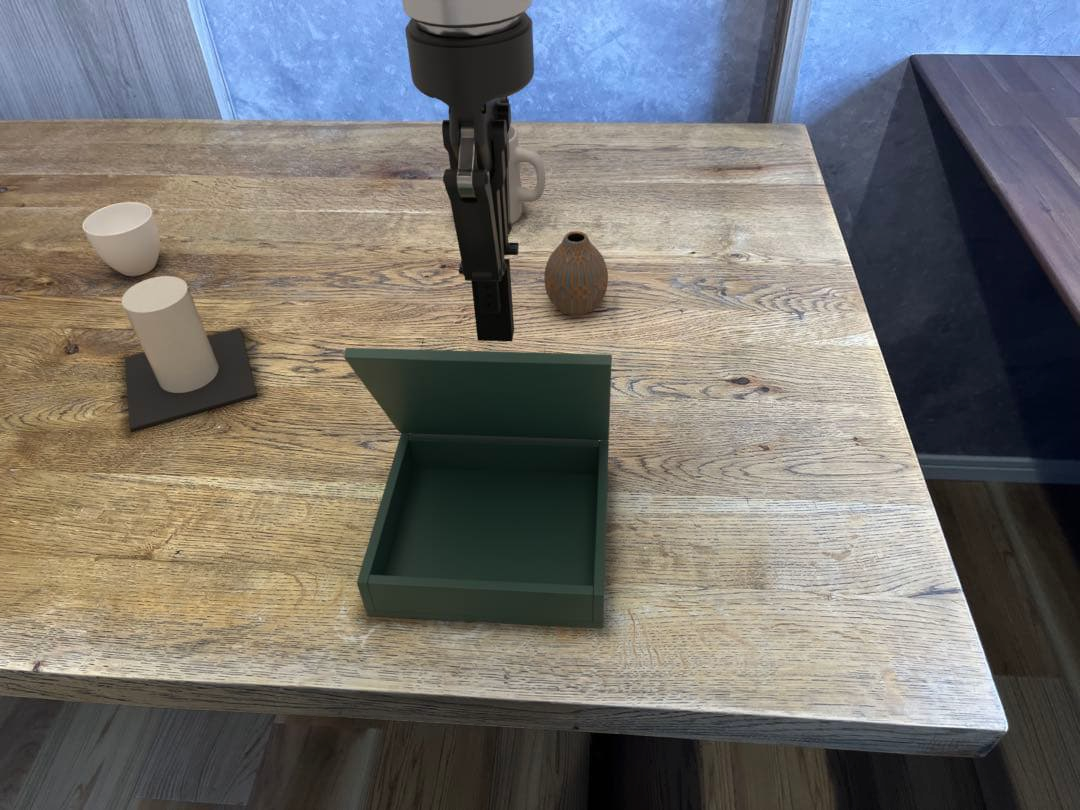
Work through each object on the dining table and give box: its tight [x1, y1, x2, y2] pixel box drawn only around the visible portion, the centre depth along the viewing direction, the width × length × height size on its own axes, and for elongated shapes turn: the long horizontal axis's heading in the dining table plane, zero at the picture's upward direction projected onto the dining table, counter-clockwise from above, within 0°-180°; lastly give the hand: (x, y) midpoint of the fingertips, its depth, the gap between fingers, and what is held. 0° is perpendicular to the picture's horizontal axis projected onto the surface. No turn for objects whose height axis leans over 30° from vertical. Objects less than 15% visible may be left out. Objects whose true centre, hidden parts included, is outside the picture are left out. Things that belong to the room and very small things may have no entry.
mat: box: [124, 327, 258, 432], centre depth 84 cm, size 12×12×1 cm
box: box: [356, 433, 610, 629], centre depth 66 cm, size 16×18×4 cm
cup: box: [81, 201, 161, 277], centre depth 99 cm, size 8×10×7 cm
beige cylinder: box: [121, 275, 219, 393], centre depth 81 cm, size 6×6×10 cm
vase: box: [543, 230, 609, 317], centre depth 88 cm, size 7×7×9 cm
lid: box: [343, 347, 613, 441], centre depth 62 cm, size 16×18×1 cm
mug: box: [508, 124, 546, 225], centre depth 103 cm, size 12×8×11 cm
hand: (496, 335), depth 64 cm, fingers closed
